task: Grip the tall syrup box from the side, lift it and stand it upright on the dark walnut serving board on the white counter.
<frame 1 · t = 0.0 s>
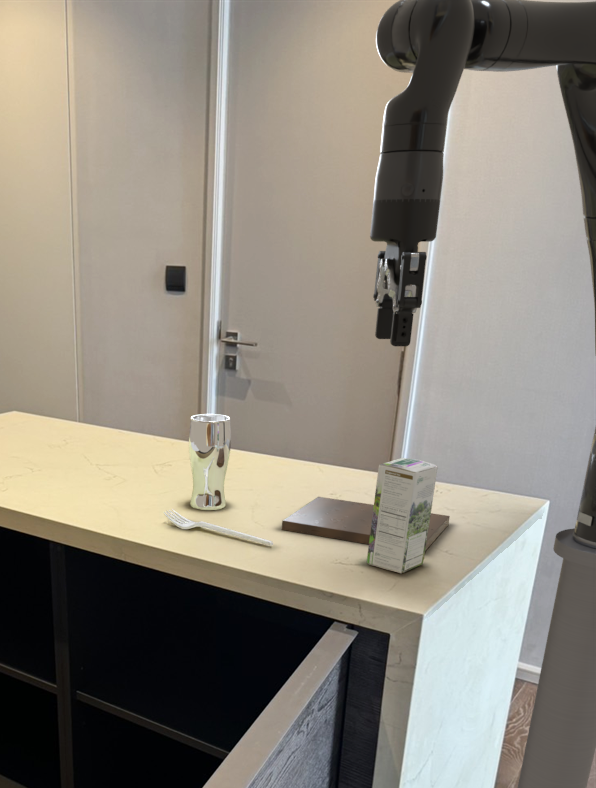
hand: (391, 342, 106), 30 cm above the table, tool pointing down, fingers open, 8 cm apart
fork: (217, 535, 134), on the table
beer glass: (207, 506, 148), on the table
walnut board: (365, 527, 137), on the table
syrup box: (395, 566, 121), on the table
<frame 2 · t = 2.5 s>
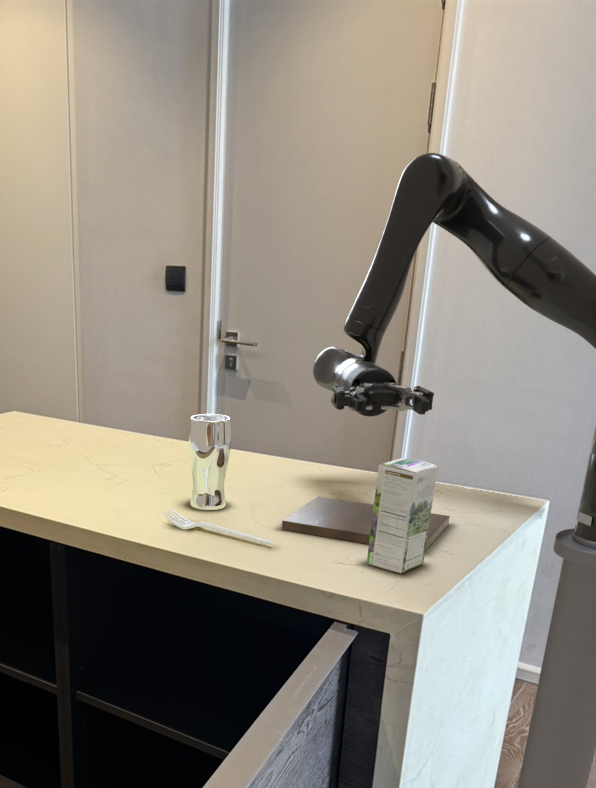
hand: (394, 407, 122), 20 cm above the table, tool horizontal, fingers open, 8 cm apart
nothing on the table moved.
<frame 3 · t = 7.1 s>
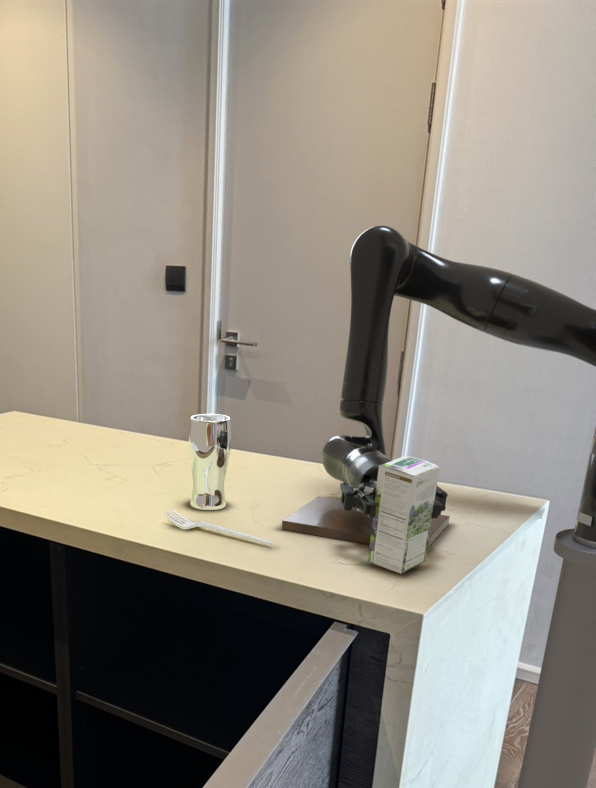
hand: (404, 511, 116), 8 cm above the table, tool horizontal, fingers closed on syrup box, 8 cm apart
syrup box: (396, 563, 121), on the table, touching gripper
everything else where it was.
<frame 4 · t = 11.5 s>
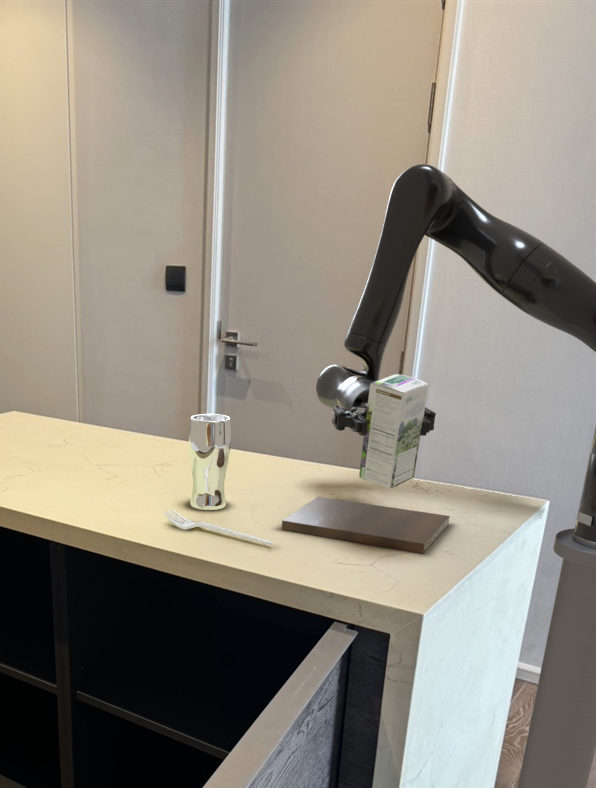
hand: (394, 428, 121), 18 cm above the table, tool horizontal, fingers closed on syrup box, 8 cm apart
syrup box: (386, 479, 126), point 10 cm above the table, touching gripper
everything else where it was.
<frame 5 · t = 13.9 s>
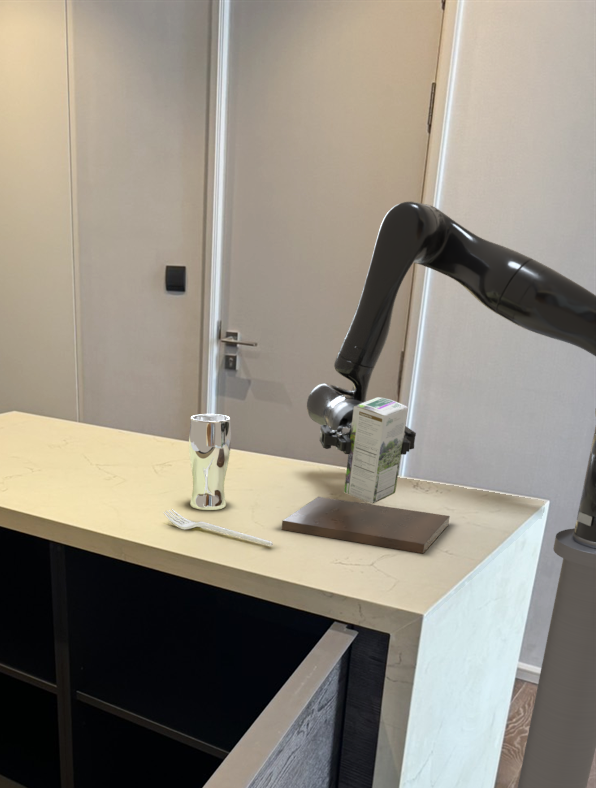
hand: (376, 447, 130), 13 cm above the table, tool horizontal, fingers closed on syrup box, 8 cm apart
syrup box: (369, 495, 135), point 5 cm above the table, touching gripper
everything else where it was.
when the fingers open (10 cm above the table, at t = 15.6 s): syrup box stays where it is, resting on walnut board.
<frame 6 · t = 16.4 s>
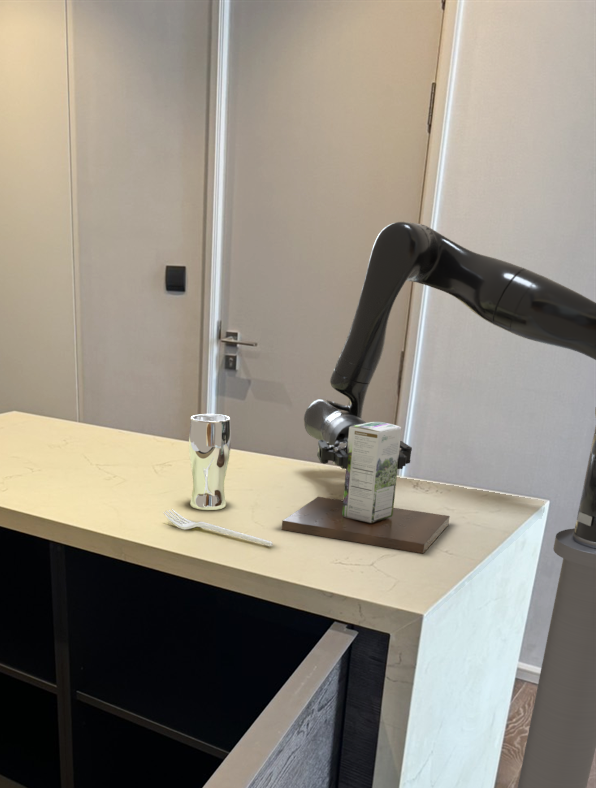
hand: (373, 462, 132), 10 cm above the table, tool horizontal, fingers open, 8 cm apart
syrup box: (367, 518, 136), point 1 cm above the table, touching gripper, walnut board
everything else where it was.
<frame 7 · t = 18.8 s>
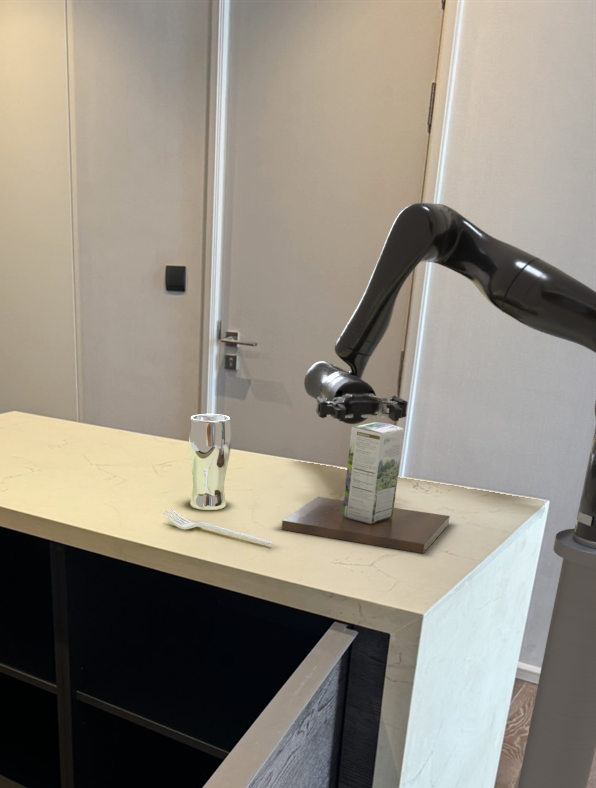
hand: (370, 414, 137), 16 cm above the table, tool horizontal, fingers open, 8 cm apart
syrup box: (367, 518, 136), point 1 cm above the table, touching walnut board
everything else where it was.
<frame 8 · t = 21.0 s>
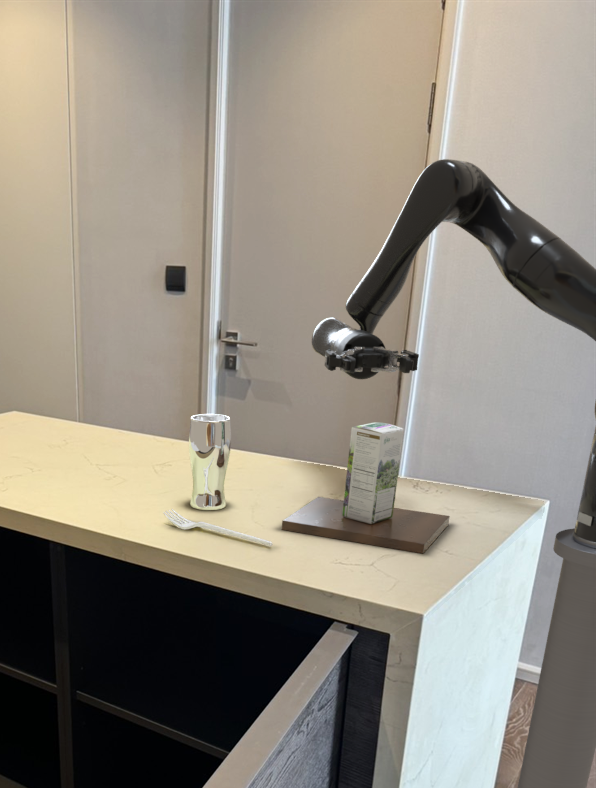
hand: (380, 366, 133), 24 cm above the table, tool horizontal, fingers open, 8 cm apart
nothing on the table moved.
at the end: syrup box inside the target area on the walnut board (0.3 cm from its centre), point 1.3 cm above the walnut board's base; syrup box tilted 0°; the gripper is holding nothing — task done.
